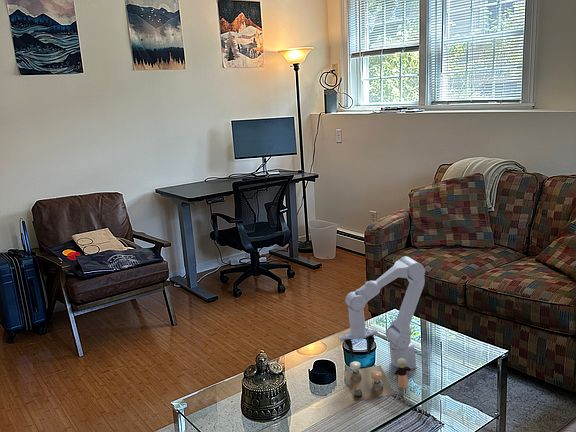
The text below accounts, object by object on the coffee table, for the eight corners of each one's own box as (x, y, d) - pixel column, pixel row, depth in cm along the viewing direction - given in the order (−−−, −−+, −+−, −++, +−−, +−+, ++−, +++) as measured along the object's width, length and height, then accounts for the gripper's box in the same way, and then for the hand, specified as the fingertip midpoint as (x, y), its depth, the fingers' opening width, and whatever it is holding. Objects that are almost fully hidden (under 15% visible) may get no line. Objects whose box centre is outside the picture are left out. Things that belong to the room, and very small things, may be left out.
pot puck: (361, 392, 200) (360, 385, 200) (363, 396, 198) (362, 389, 197) (353, 394, 200) (352, 386, 199) (355, 398, 197) (354, 391, 197)
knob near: (381, 378, 203) (380, 370, 202) (384, 384, 199) (383, 376, 199) (370, 380, 203) (369, 372, 202) (373, 386, 199) (372, 377, 198)
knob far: (359, 368, 212) (358, 360, 211) (362, 374, 208) (361, 366, 207) (349, 370, 211) (348, 362, 210) (351, 376, 207) (351, 367, 206)
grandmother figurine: (399, 395, 198) (396, 364, 195) (392, 390, 202) (390, 360, 198) (416, 387, 202) (413, 357, 198) (409, 382, 205) (406, 352, 202)
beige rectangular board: (380, 368, 217) (379, 359, 215) (395, 397, 197) (394, 387, 196) (343, 375, 215) (342, 366, 214) (355, 404, 196) (354, 395, 195)
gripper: (340, 330, 203) (344, 363, 206) (378, 324, 204) (381, 356, 207) (336, 322, 209) (340, 354, 213) (373, 316, 210) (376, 347, 214)
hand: (360, 354), depth 211 cm, fingers open, 6 cm apart
